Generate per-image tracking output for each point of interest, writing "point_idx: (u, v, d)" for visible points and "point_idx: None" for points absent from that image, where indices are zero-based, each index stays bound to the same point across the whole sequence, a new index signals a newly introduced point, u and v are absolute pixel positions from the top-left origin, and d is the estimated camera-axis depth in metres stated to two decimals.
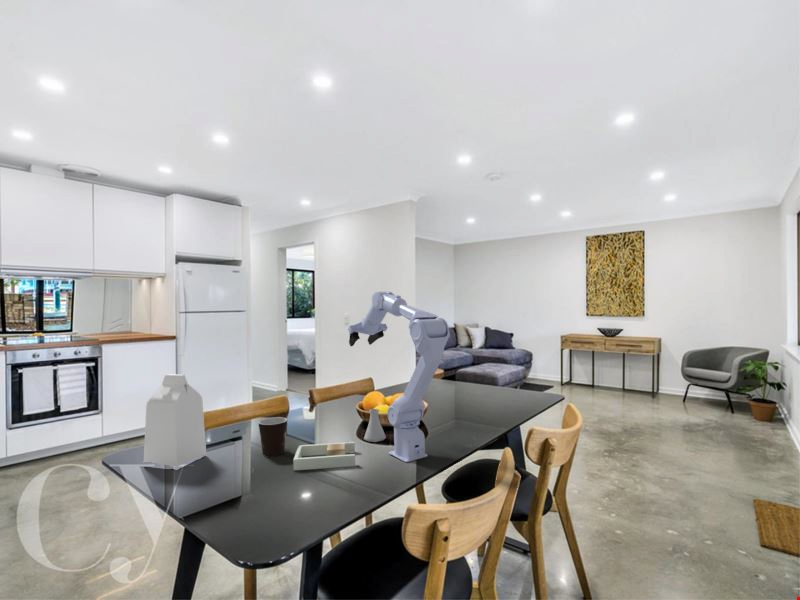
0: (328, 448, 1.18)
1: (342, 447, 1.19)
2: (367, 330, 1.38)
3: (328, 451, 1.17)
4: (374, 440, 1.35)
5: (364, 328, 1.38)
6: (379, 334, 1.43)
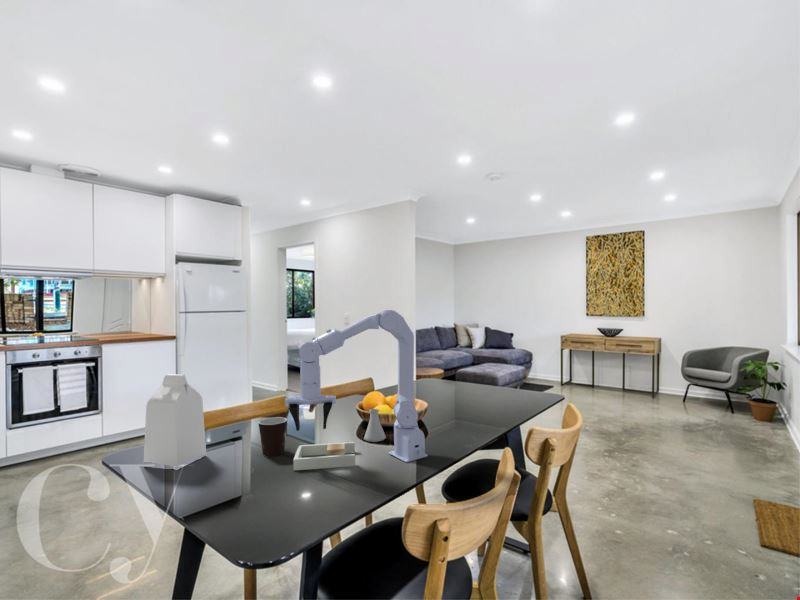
0: (328, 448, 1.18)
1: (342, 447, 1.19)
2: None
3: (328, 451, 1.17)
4: (374, 440, 1.35)
5: None
6: None
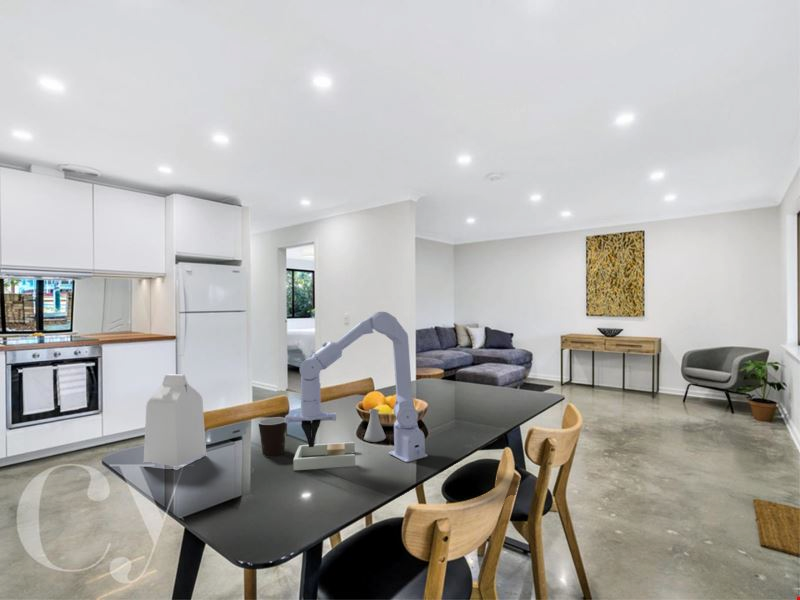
0: (328, 448, 1.18)
1: (342, 447, 1.19)
2: None
3: (328, 451, 1.17)
4: (374, 440, 1.35)
5: None
6: None
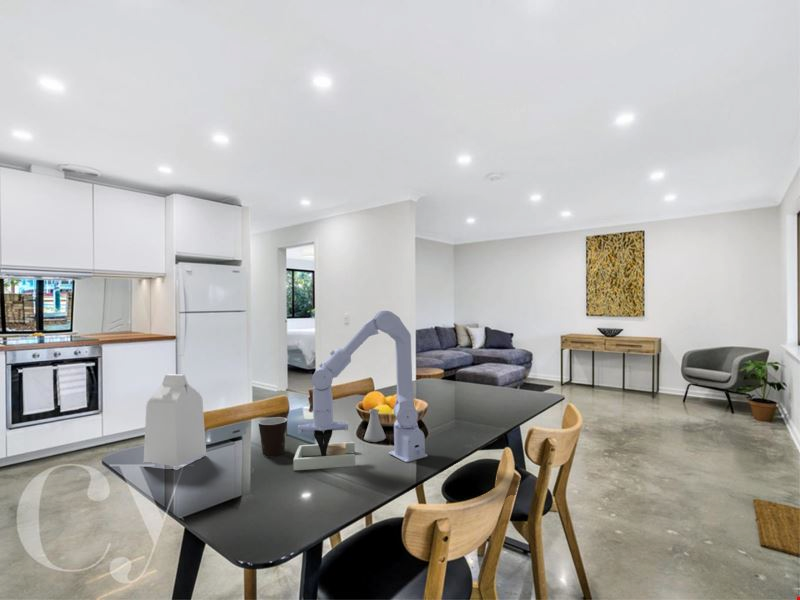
0: (329, 447, 1.18)
1: (343, 446, 1.19)
2: None
3: (329, 450, 1.17)
4: (374, 440, 1.35)
5: None
6: None
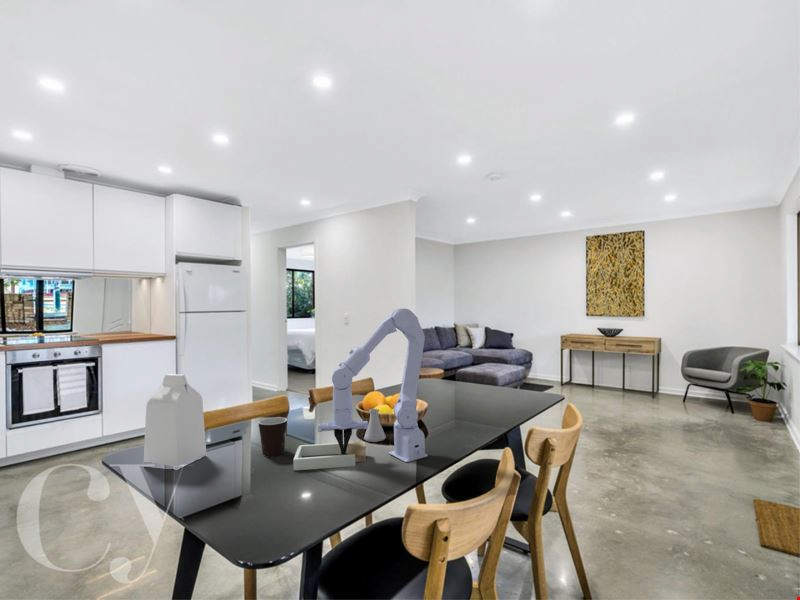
0: (349, 446, 1.19)
1: (363, 445, 1.20)
2: None
3: (349, 449, 1.18)
4: (374, 440, 1.35)
5: None
6: None
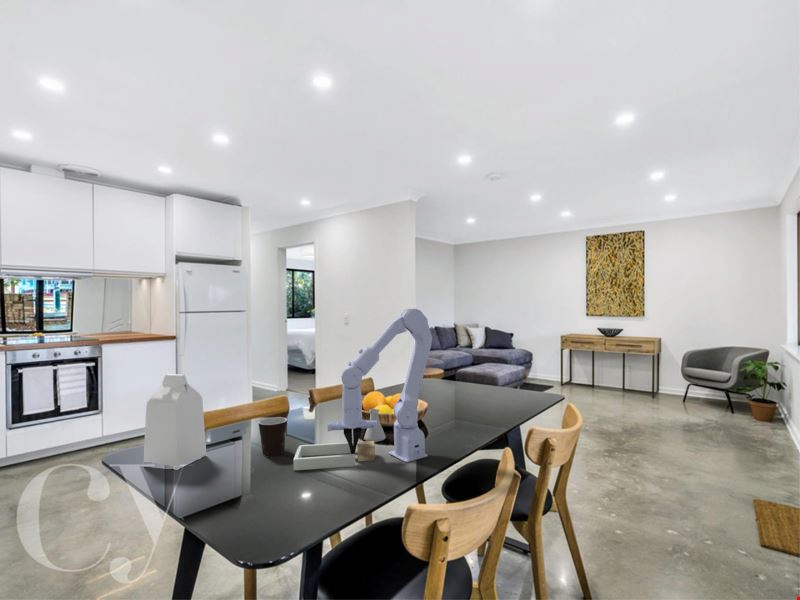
0: (358, 445, 1.19)
1: (372, 444, 1.20)
2: None
3: (359, 448, 1.18)
4: (374, 440, 1.35)
5: None
6: None
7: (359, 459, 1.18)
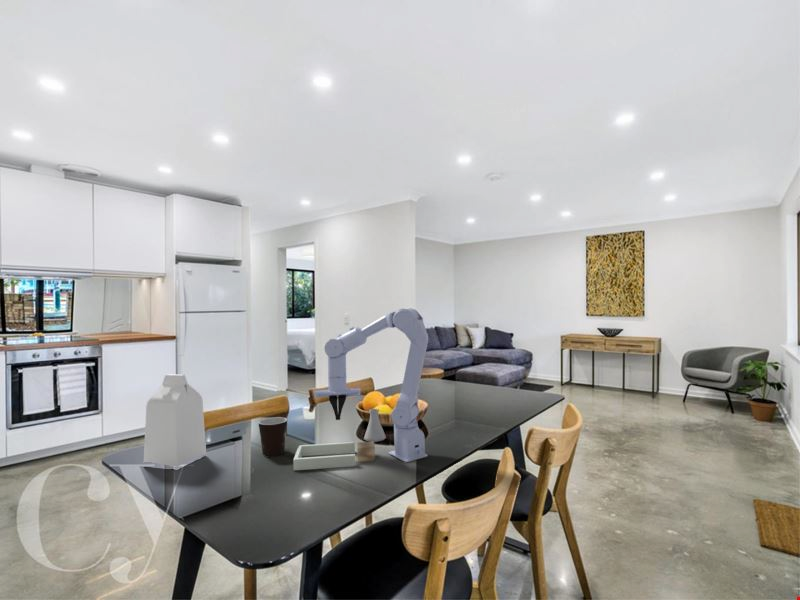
0: (358, 446, 1.19)
1: (372, 445, 1.20)
2: None
3: (359, 449, 1.18)
4: (374, 440, 1.35)
5: None
6: None
7: (359, 460, 1.18)
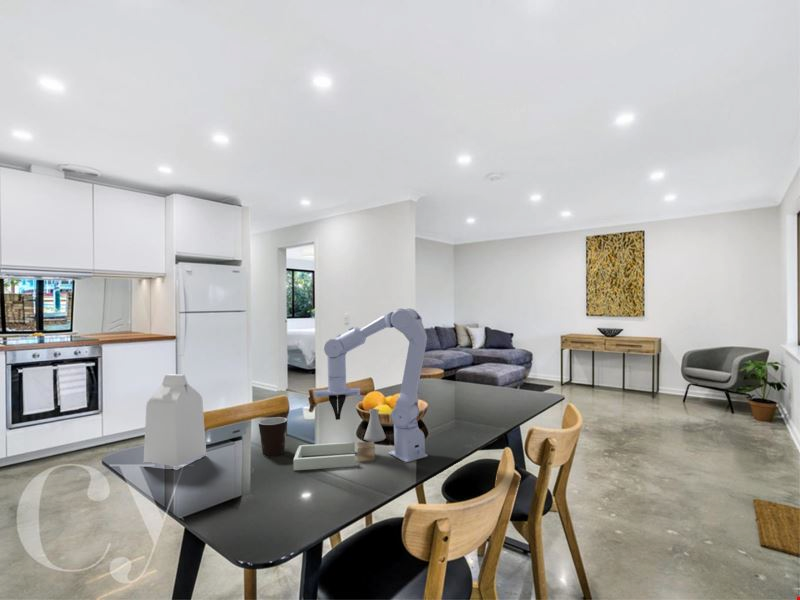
0: (358, 446, 1.19)
1: (372, 445, 1.20)
2: None
3: (359, 449, 1.18)
4: (374, 440, 1.35)
5: None
6: None
7: (359, 460, 1.18)
